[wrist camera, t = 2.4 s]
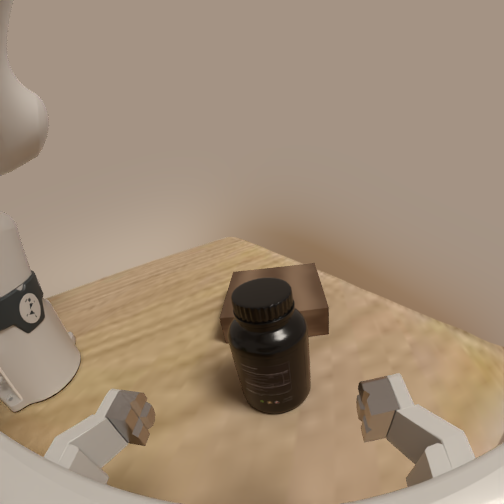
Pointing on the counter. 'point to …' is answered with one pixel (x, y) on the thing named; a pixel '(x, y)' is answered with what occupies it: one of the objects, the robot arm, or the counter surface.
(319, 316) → the walnut stand
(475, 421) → the counter surface
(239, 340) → the supplement bottle
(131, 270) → the counter surface
